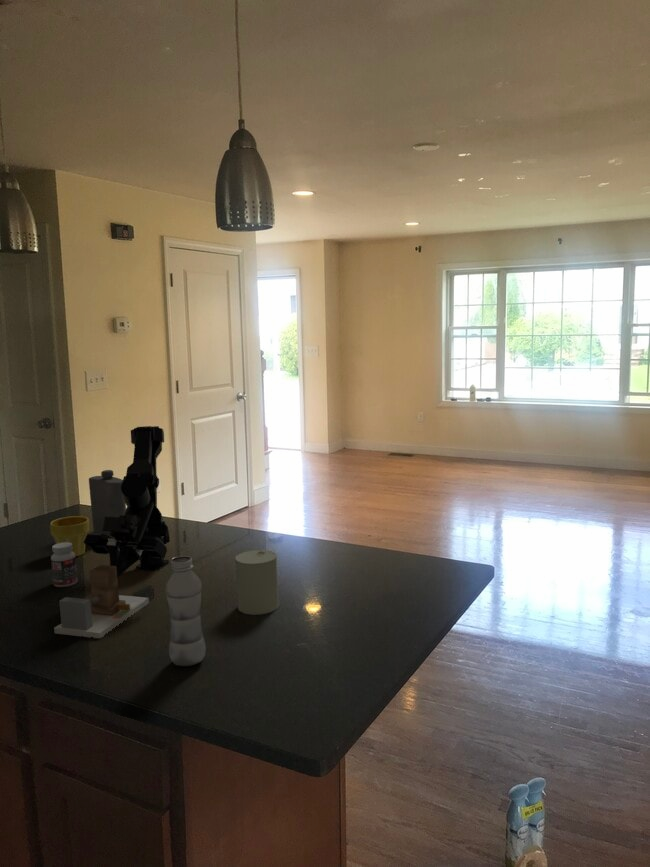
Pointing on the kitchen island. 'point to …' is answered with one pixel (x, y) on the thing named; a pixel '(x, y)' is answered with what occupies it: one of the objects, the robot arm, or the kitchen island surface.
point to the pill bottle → (63, 565)
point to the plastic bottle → (185, 613)
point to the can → (257, 582)
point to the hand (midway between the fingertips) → (112, 579)
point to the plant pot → (71, 532)
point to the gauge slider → (105, 591)
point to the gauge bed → (93, 616)
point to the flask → (105, 499)
